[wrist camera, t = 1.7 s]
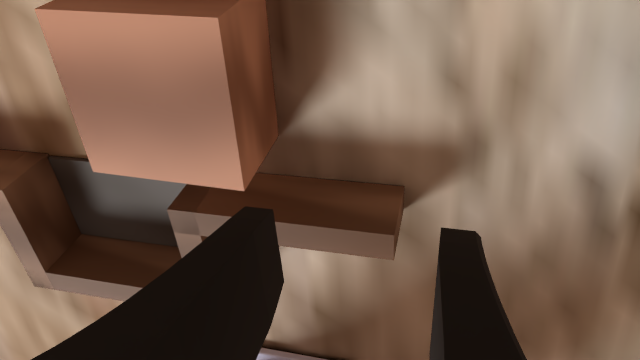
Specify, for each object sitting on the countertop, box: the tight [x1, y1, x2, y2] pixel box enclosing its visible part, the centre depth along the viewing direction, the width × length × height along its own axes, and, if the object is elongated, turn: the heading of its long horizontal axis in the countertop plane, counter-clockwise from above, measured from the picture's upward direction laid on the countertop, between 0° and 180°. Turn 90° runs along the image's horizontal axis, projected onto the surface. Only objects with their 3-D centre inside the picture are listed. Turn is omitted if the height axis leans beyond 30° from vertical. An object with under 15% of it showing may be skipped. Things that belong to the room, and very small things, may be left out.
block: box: [35, 0, 279, 191], centre depth 18 cm, size 6×6×4 cm
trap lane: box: [0, 149, 404, 301], centre depth 20 cm, size 22×29×4 cm
